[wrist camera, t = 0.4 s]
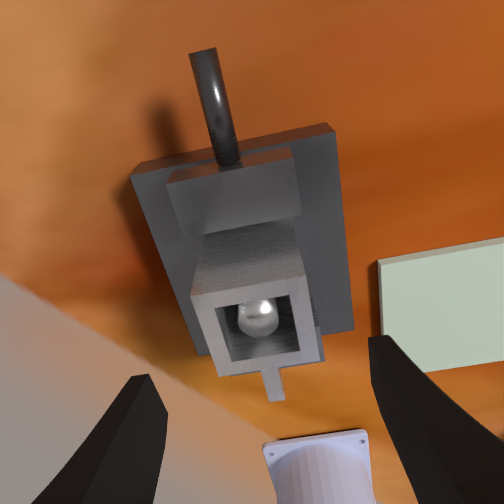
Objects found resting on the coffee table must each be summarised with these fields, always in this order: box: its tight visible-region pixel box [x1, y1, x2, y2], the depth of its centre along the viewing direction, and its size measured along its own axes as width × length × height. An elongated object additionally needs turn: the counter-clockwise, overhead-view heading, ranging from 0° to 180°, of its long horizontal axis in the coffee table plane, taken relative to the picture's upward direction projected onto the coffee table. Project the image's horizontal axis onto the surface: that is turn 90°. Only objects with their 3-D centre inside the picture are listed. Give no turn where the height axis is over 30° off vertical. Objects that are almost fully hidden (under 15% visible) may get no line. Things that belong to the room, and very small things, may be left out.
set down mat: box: [377, 237, 504, 372], centre depth 23 cm, size 9×9×1 cm
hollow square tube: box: [190, 217, 320, 402], centre depth 17 cm, size 6×4×5 cm
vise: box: [130, 47, 354, 376], centre depth 17 cm, size 15×9×6 cm, turn 12°
